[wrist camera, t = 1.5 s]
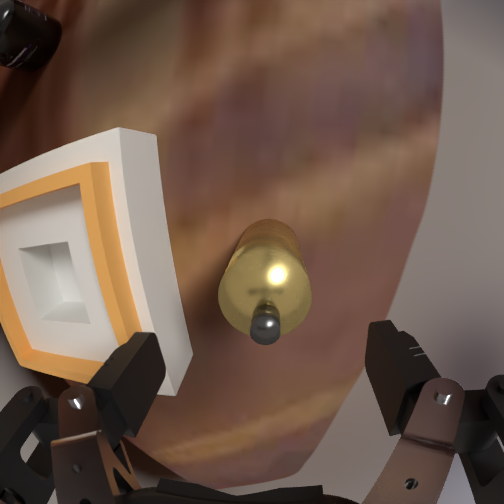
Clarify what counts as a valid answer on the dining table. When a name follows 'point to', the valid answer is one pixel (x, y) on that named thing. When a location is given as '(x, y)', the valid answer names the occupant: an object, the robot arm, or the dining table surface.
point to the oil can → (266, 283)
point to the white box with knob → (89, 258)
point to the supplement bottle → (26, 36)
